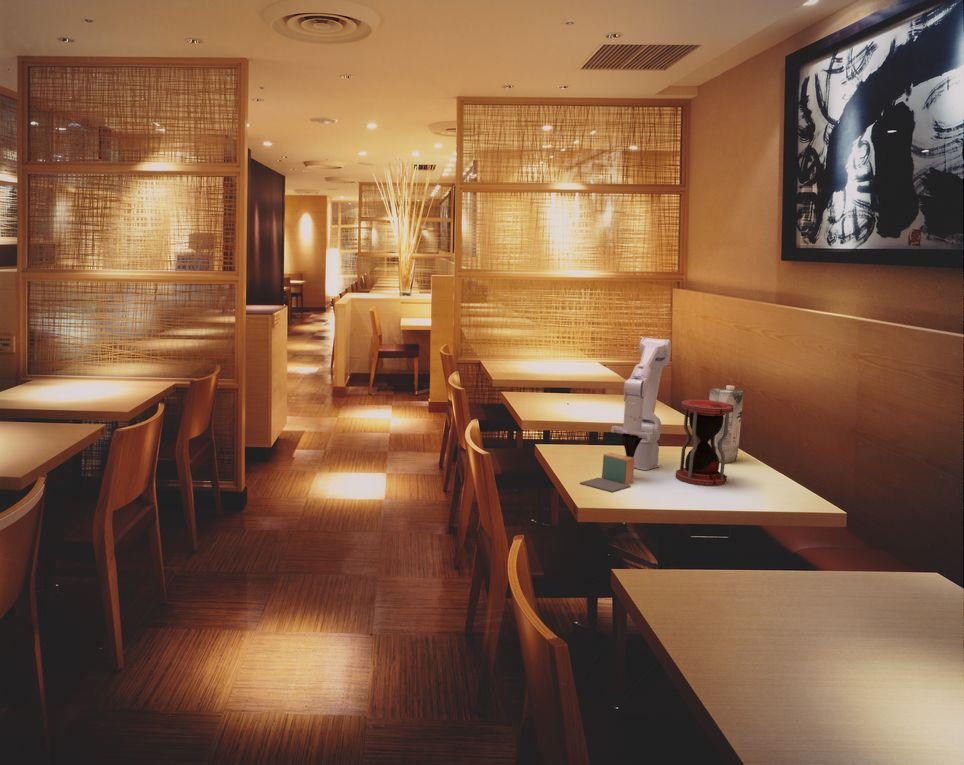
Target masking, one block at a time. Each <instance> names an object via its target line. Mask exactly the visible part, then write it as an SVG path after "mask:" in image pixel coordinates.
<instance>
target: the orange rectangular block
mask: <svg viewBox="0 0 964 765" xmlns="http://www.w3.org/2000/svg"><path fill="white" fill-rule="evenodd" d="M602 456H603V457H602V469H601V470H602V471H601V478H603V479H607V480H611V481H615V482H618V483H622V484H626V485H630V484H632V483H633V482H634V474H635V472H634V470H635V468H634V460H635V458H632V457H628V456H626V455H623V454H619V453H614V452H608V453H604V454H603V455H602ZM629 483H630V484H629Z"/></svg>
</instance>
